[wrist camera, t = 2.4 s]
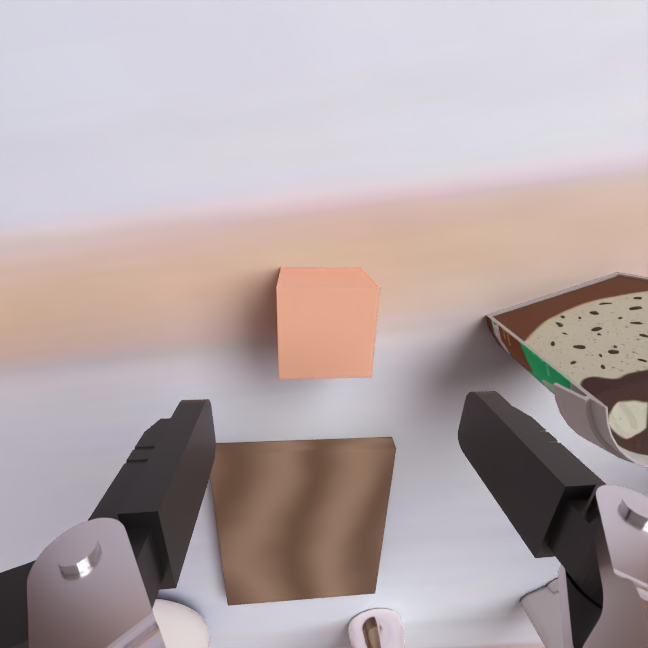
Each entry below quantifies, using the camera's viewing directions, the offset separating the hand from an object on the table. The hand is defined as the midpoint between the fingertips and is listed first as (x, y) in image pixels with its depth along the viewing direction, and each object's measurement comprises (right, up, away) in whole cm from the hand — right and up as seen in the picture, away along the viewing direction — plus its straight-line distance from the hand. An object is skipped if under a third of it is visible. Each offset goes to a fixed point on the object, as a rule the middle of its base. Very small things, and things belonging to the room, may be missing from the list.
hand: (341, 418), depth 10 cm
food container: (+16, +2, +13) cm, 21 cm away
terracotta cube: (-1, +4, +11) cm, 12 cm away
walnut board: (-2, -14, +18) cm, 23 cm away
